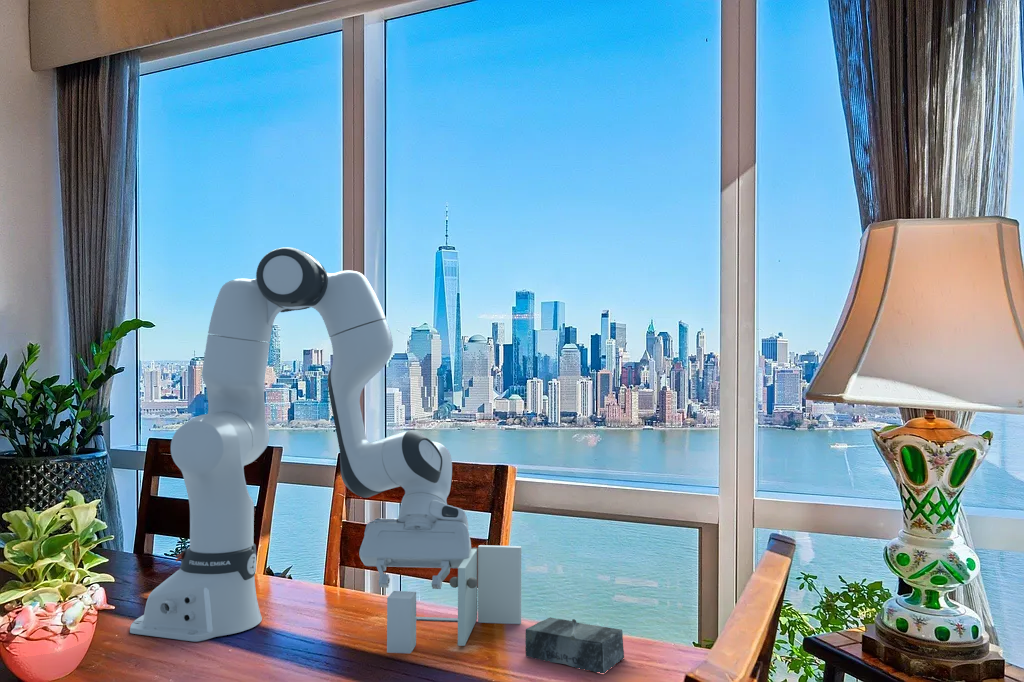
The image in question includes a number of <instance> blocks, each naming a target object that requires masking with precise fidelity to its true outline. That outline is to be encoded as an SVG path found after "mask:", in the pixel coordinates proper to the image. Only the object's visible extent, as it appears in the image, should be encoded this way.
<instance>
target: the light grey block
mask: <svg viewBox="0 0 1024 682" xmlns="http://www.w3.org/2000/svg"><path fill="white" fill-rule="evenodd" d="M386 601H387V603H386V608H387V609H386V612H387V613H386V640H387V641H386V653H389V654H411V653H412V652H413V651H414V649H415V647H416V646H417V620H416V617H417V591H407V590H404V591H402V590H393V591H392V592H391V593H390V594H389V595H388V596H387V600H386Z"/></svg>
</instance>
